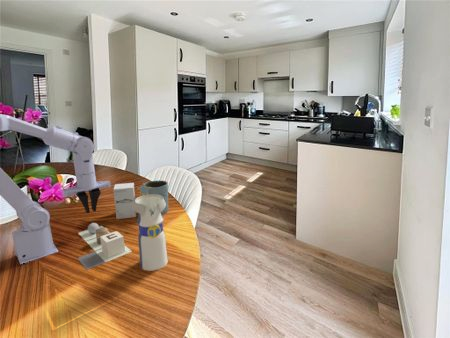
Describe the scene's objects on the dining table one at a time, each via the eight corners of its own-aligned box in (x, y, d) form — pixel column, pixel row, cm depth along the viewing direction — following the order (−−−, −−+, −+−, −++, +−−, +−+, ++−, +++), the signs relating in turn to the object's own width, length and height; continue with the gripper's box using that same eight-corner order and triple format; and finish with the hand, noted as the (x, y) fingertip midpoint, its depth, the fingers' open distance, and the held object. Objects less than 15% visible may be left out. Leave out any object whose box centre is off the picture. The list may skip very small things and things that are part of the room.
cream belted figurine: (174, 266, 75) (168, 179, 69) (143, 276, 71) (134, 185, 65) (165, 252, 82) (159, 172, 76) (136, 260, 78) (127, 177, 72)
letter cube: (108, 258, 79) (106, 242, 77) (102, 251, 82) (100, 236, 81) (125, 251, 82) (123, 236, 81) (118, 245, 86) (116, 230, 84)
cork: (99, 245, 86) (97, 234, 85) (95, 241, 88) (93, 230, 87) (110, 241, 88) (109, 230, 87) (106, 237, 91) (105, 226, 90)
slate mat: (86, 271, 73) (86, 269, 73) (77, 259, 79) (77, 258, 79) (105, 263, 77) (105, 262, 77) (95, 252, 82) (95, 251, 82)
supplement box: (116, 220, 105) (112, 189, 102) (118, 213, 112) (114, 183, 109) (136, 218, 107) (133, 187, 103) (136, 210, 114) (133, 182, 110)
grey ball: (90, 236, 92) (88, 226, 91) (86, 232, 94) (85, 223, 93) (101, 232, 94) (99, 223, 93) (97, 229, 96) (96, 220, 96)
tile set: (105, 263, 77) (105, 262, 77) (78, 233, 94) (77, 232, 94) (132, 252, 82) (132, 251, 82) (101, 226, 100) (101, 225, 100)
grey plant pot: (157, 218, 106) (155, 189, 103) (139, 212, 111) (136, 185, 108) (174, 209, 115) (173, 182, 112) (157, 204, 120) (155, 178, 117)
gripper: (103, 166, 96) (107, 202, 100) (57, 174, 87) (63, 214, 90) (111, 170, 91) (115, 207, 95) (62, 179, 82) (69, 220, 85)
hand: (90, 211), depth 92 cm, fingers closed
